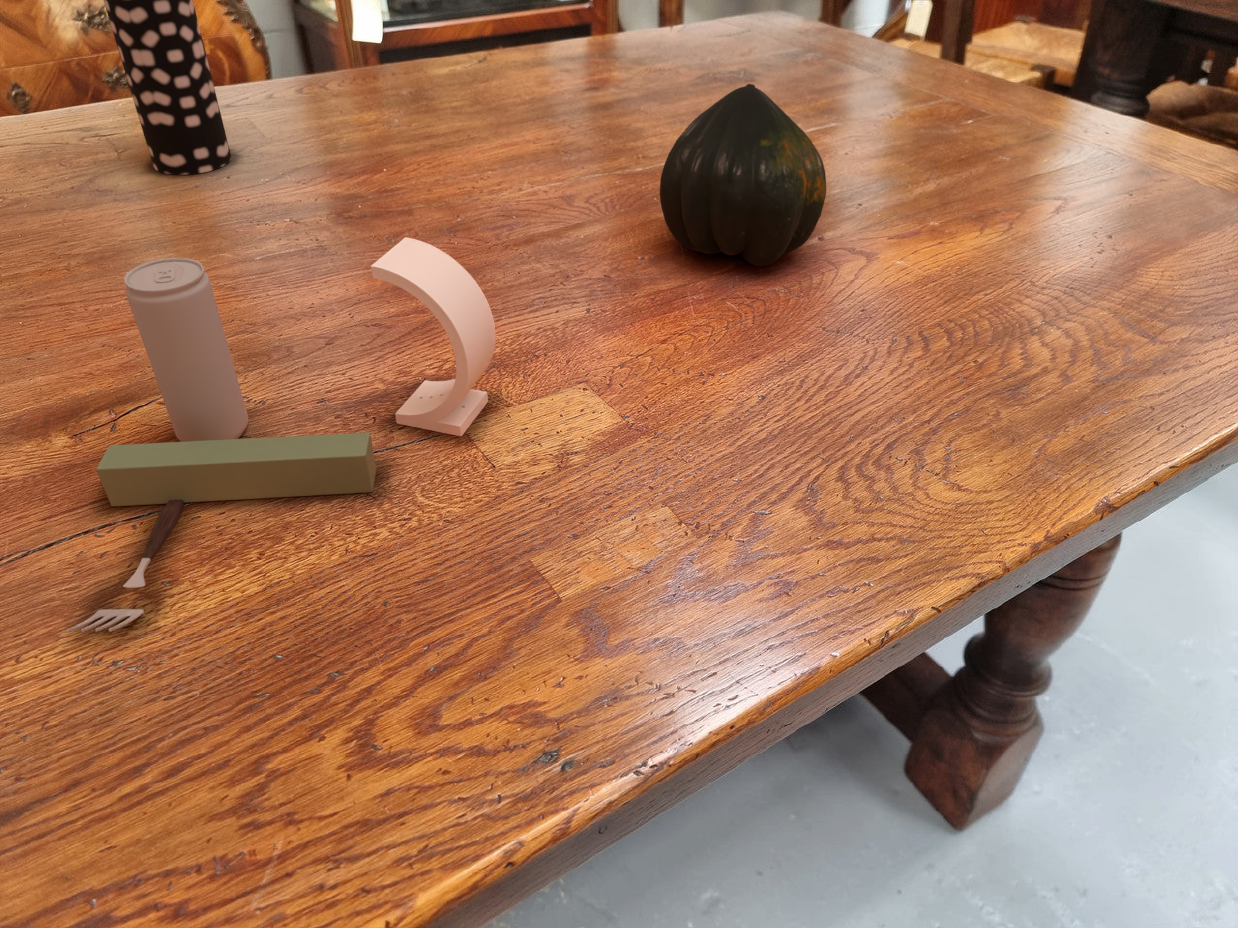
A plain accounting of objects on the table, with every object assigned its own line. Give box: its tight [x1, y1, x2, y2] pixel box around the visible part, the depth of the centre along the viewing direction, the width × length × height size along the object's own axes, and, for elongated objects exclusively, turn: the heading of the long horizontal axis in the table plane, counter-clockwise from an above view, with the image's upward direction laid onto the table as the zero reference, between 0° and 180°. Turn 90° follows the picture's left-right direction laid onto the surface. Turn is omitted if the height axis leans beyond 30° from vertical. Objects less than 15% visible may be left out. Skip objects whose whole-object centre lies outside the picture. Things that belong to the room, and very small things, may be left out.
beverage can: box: [123, 257, 250, 442], centre depth 60 cm, size 5×5×12 cm
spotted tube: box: [102, 0, 232, 176], centre depth 99 cm, size 8×8×20 cm
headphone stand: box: [370, 236, 497, 437], centre depth 62 cm, size 5×6×12 cm
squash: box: [659, 83, 827, 267], centre depth 85 cm, size 14×15×15 cm
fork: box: [66, 500, 185, 633], centre depth 54 cm, size 3×16×2 cm, turn 2°
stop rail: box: [95, 432, 378, 507], centre depth 58 cm, size 16×2×3 cm, turn 96°
